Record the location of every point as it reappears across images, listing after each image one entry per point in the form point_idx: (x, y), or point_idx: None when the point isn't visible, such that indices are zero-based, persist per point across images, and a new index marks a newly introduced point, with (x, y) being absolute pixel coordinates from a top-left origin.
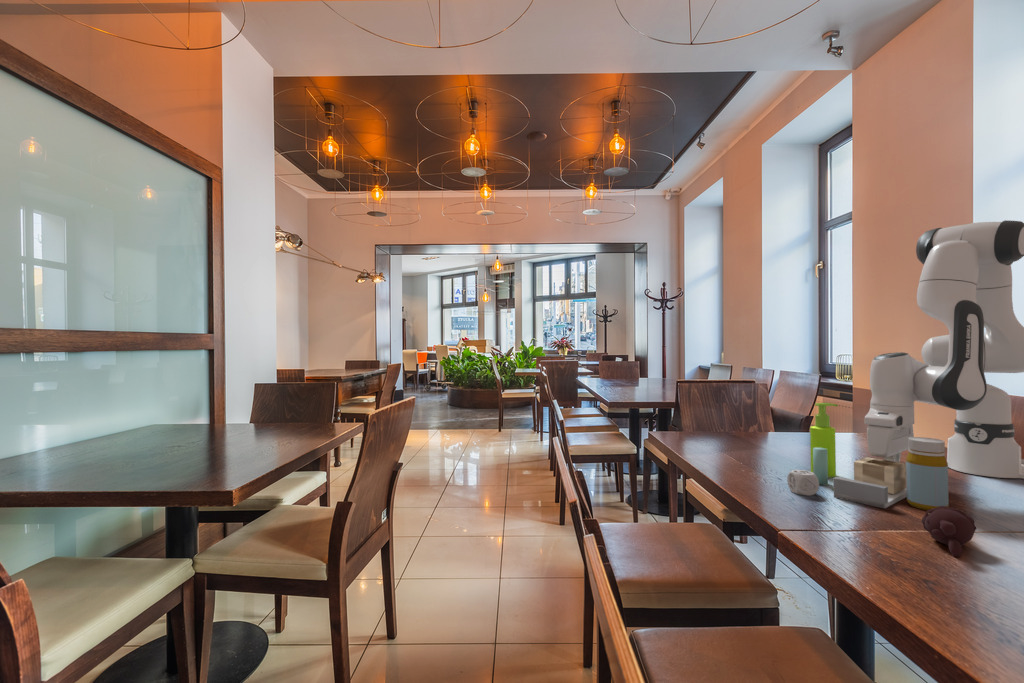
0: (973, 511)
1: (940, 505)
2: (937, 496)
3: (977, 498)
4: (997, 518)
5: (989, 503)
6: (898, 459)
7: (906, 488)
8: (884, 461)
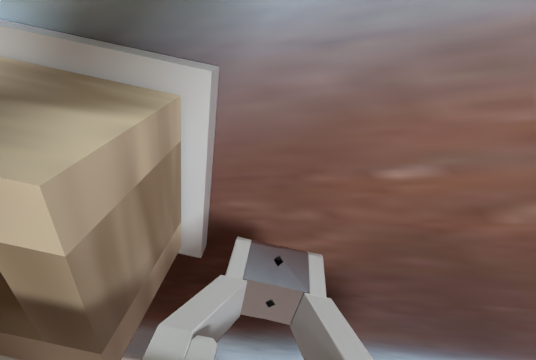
0: (145, 328)
1: None
2: None
3: (294, 349)
4: (131, 346)
5: (258, 357)
6: (303, 357)
7: (199, 243)
8: (22, 306)
